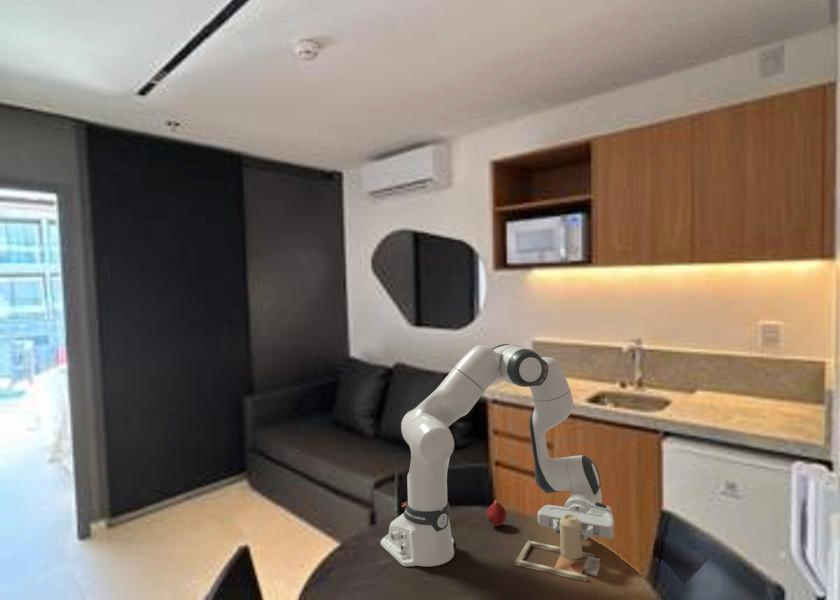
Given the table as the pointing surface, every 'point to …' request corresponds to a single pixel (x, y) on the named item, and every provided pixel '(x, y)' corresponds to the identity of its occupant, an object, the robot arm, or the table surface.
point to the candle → (570, 537)
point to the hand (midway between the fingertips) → (569, 533)
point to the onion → (496, 514)
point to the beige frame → (562, 563)
